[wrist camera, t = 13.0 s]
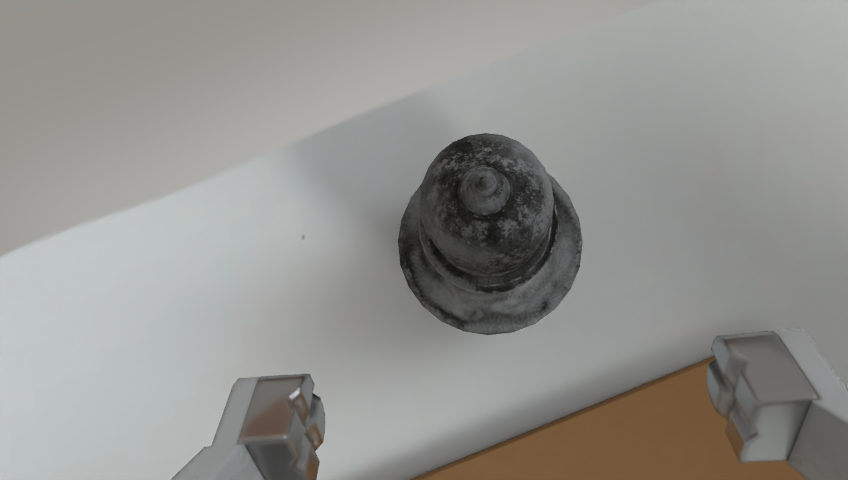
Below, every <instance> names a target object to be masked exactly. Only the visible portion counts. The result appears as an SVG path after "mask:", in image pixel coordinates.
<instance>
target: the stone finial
mask: <svg viewBox="0 0 848 480" xmlns="http://www.w3.org/2000/svg"><path fill="white" fill-rule="evenodd" d="M398 246H399V255H400V265H401V268H402V270H403V273H404V275H405V278H406V281H407V283H408V286H409V288H410V289H411V290H412V292H413V293H414V295H415V296H416V297H417V299H418V300H419V302H420V303H421V304H422V306H423V307H425V308H426V309H427V310H428V311H429V312H431V313H432V314H433V315H434V316H436V317H437V318H438V319H439V320H441V321H442V322H444V323H447V324H449V325H451V326H453V327H456V328H458V329H460V330H462V331H466V332H472V333H479V334H485V335H492V334H501V333H511V332H515V331H517V330H520V329H522V328H525V327H527V326H530V325H532V324H535V323H537V322H538V321H539V320H541V319H542V318H543V317H545V316H546V315H547V314H549V313H550V312H551V311H553V310H554V309H555V308H556V307H557V306H558V304H559V303H560V302H561V301H562V299H563V298H564V297H565V295H566V294H567V293H568V292H569V290H570V289H571V286H572V284H573V281H574V279H575V277H576V274H577V272H578V269H579V267H580V259H581V251H582V236H581V230H580V223H579V218H578V216H577V214H576V211H575V209H574V207H573V205H572V202H571V200H570V198H569V196H568V195H567V194H566V192H565V191H564V190H563V189H562V188H561V186H560V185H559V184H558V183H557V181H556V180H555V179H554V178H553V177H551V176H550V175H549V174H547V172H546V170H545V168H544V166H543V165H542V164H541V162H540V161H539V160H538V159H537V157H536V156H535V155H534V154H533V152H532V151H530V150H529V149H528V148H526V147H525V146H523V145H522V144H521V143H519V142H518V141H515V140H513V139H510V138H508V137H505V136H503V135H495V134H487V133H484V134H477V135H470V136H467V137H464V138H462V139H460V140H457V141H455V142H453V143H452V144H450V145H449V146H448V147H446V148H445V149H444V150H442V151H441V152H440V153H439V154H438V156H437V157H436V158H435V159H434V161H433V162H432V163H431V165H430V166H429V168H428V170H427V173H426V175H425V177H424V180H423V182H422V184H421V186H420V187H419V188H418V189H417V191H416V192H415V193H414V195H413V196H412V197H411V199H410V201H409V203H408V206H407V208H406V210H405V212H404V215H403V217H402V220H401V226H400V233H399V239H398Z"/></svg>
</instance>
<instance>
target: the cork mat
mask: <svg viewBox="0 0 848 480" xmlns="http://www.w3.org/2000/svg"><path fill="white" fill-rule="evenodd" d="M714 359H716V358H715V356H713V357H711V358H708V359H706V360H704V361H701V362H699V363H696V364H694V365H691V366H689V367H686V368H684V369H681V370H679V371H676V372H674V373H672V374H669V375H667V376H664V377H662V378H659V379H657V380H654V381H652V382H649V383H647V384H644V385H642V386H640V387H637V388H635V389H632V390H630V391H627V392H625V393H622V394H620V395H617V396H615V397H612V398H610V399H608V400H605V401H603V402H600V403H598V404H595V405H593V406H590V407H588V408H585V409H583V410H580V411H578V412H576V413H573V414H571V415H568V416H566V417H563V418H561V419H558V420H556V421H553V422H551V423H548V424H546V425H544V426H541V427H539V428H536V429H534V430H531V431H529V432H526V433H524V434H521V435H519V436H516V437H514V438H512V439H509V440H507V441H504V442H502V443H499V444H497V445H494V446H492V447H489V448H487V449H484V450H482V451H480V452H477V453H475V454H472V455H470V456H467V457H465V458H462V459H460V460H457V461H455V462H452V463H450V464H448V465H445V466H443V467H440V468H438V469H435V470H433V471H430V472H428V473H425V474H423V475H420V476H418V477H416V478H413V479H411V480H806V479H805V478H804V477H803V476H802V475H800V474H799V473H798V472H797V471H796V470H794V469H793V468H792V467H791V466H790V465H789V464H787V462H788V461H776V462H751V463H739V461H738V459H737V456H736V454H735V452H734V450H733V448H732V446H731V444H730V442H729V439H728V437H727V435H726V433H725V430H726V426H727V422H728V420H726V419H725V418H723V417H722V416H721V415H719V414H718V413H716V411H715V409H714V407H713V404H712V402H711V400H710V396H709V393H708V389H707V379H706V375H707V369H708V365H709V364H710V363H711V362H712V361H713V360H714Z"/></svg>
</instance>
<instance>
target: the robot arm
mask: <svg viewBox="0 0 848 480" xmlns="http://www.w3.org/2000/svg"><path fill="white" fill-rule="evenodd" d="M711 350H712V352H713V354H714V356H715V358H716V359H714V360H713V361H712V362H711V363H710V364H709V365H708V369H707V375H706V379H707V389H708V393H709V396H710V400H711V402H712V404H713V407H714V409H715V411H716V413H718V414H719V415H721V416H722V417H723V418H725V419H726V420H728V422H727V426H726V430H725V433H726V435H727V437H728V439H729V442H730V444H731V446H732V448H733V450H734V452H735V454H736V456H737V459H738V461H739V463H751V462H776V461H788V462H787V464H789V465H790V466H791V467H792V468H793V469H794V470H796V471H797V472H798V473H799V474H800V475H802V476H803V477H804V478H805V479H806V480H848V390H847V389H846V387H845V386H844V385H843V383H842V382H841V380H840V379H839V378H838V376H837V375H836V373H835V372H834V371H833V369H832V368H831V366H830V365H829V364H828V362H827V361H826V359H825V358H824V357H823V355H822V354H821V352H820V351H819V350H818V348H817V347H816V345H815V344H814V343H813V341H812V340H811V338H810V337H809V336H808V334H807V333H806V332H805V331H803V330H802V329H800V328H798V329H787V330H776V331H762V332H752V333H742V334H733V335H723V336H717V337H716V338H715V339H714V340H713V344H712V349H711ZM313 389H314V382H313V380H312V378H311V376H310V374H294V375H278V376H262V377H251V378H239V379H238V380H237V381H236V382H235V383H234V385H233V387H232V389H231V392H230V395H229V398H228V401H227V403H226V406H225V409H224V412H223V415H222V417H221V420H220V423H219V426H218V429H217V431H216V434H215V437H214V440H213V442H212V445H211V446H210V447H204V448H203V449H202V450H201V451H200V452H199V453H198V454H197V455H196V456H195V457H194V458H193V459H192V460H191V461H190V462H189V463H188V464H186V465H185V466H184V467H183V468H182V469H181V470H180V471H179V472H178V473H177V474H176V475H175V476H174V477H173V478H172V479H171V480H316V478H317V473H318V467H319V462H320V461H319V459H318V457H317V455H316V452H315V451H316V450H317V448H318V447H319V446H320V445H321V444H322V443H323V440H324V433H325V413H324V407H323V404H322V401H321V399H320V397H318V396H316V395H315V394H313Z"/></svg>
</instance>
